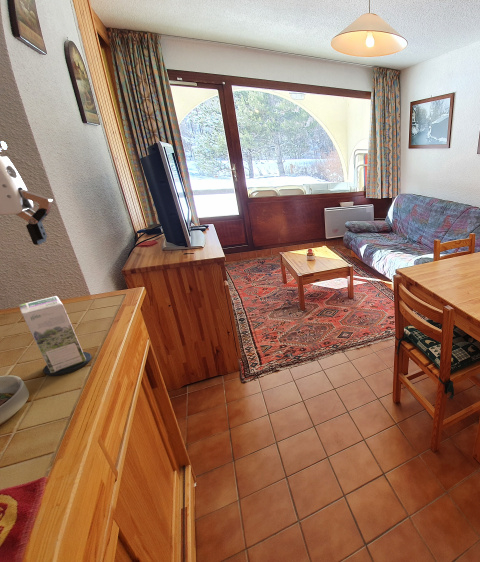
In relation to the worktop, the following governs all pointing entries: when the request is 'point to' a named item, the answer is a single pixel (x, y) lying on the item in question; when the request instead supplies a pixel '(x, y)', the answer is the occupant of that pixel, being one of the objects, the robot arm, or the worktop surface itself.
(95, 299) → the worktop surface
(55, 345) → the syrup box
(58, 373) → the coaster
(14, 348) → the worktop surface
